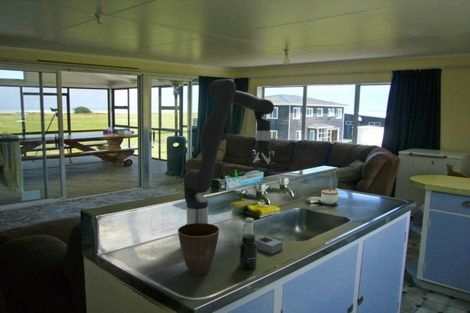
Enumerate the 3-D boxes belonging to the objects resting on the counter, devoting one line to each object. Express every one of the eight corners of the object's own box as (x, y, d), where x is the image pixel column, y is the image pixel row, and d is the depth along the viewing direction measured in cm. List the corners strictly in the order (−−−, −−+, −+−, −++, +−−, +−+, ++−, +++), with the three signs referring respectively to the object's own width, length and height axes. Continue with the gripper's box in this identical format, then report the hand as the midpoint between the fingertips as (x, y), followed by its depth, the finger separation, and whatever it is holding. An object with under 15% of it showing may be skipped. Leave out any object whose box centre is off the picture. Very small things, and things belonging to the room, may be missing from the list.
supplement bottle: (251, 272, 133) (251, 240, 131) (235, 267, 136) (235, 237, 135) (260, 265, 139) (260, 235, 137) (244, 261, 142) (245, 231, 141)
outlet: (272, 254, 150) (272, 246, 149) (248, 245, 159) (248, 238, 158) (282, 249, 155) (282, 241, 154) (259, 241, 164) (259, 234, 163)
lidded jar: (320, 200, 241) (320, 187, 240) (336, 201, 240) (337, 187, 239) (321, 204, 231) (322, 190, 230) (338, 205, 229) (339, 191, 228)
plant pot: (219, 280, 126) (219, 235, 124) (176, 281, 125) (176, 236, 123) (218, 262, 141) (218, 222, 139) (179, 263, 140) (179, 223, 138)
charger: (249, 240, 165) (249, 220, 164) (243, 238, 168) (244, 218, 166) (254, 238, 168) (255, 218, 167) (248, 236, 170) (249, 217, 169)
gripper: (247, 139, 188) (247, 170, 190) (269, 140, 179) (269, 172, 180) (256, 138, 194) (256, 168, 195) (278, 139, 184) (277, 171, 186)
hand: (262, 170), depth 188 cm, fingers open, 8 cm apart
